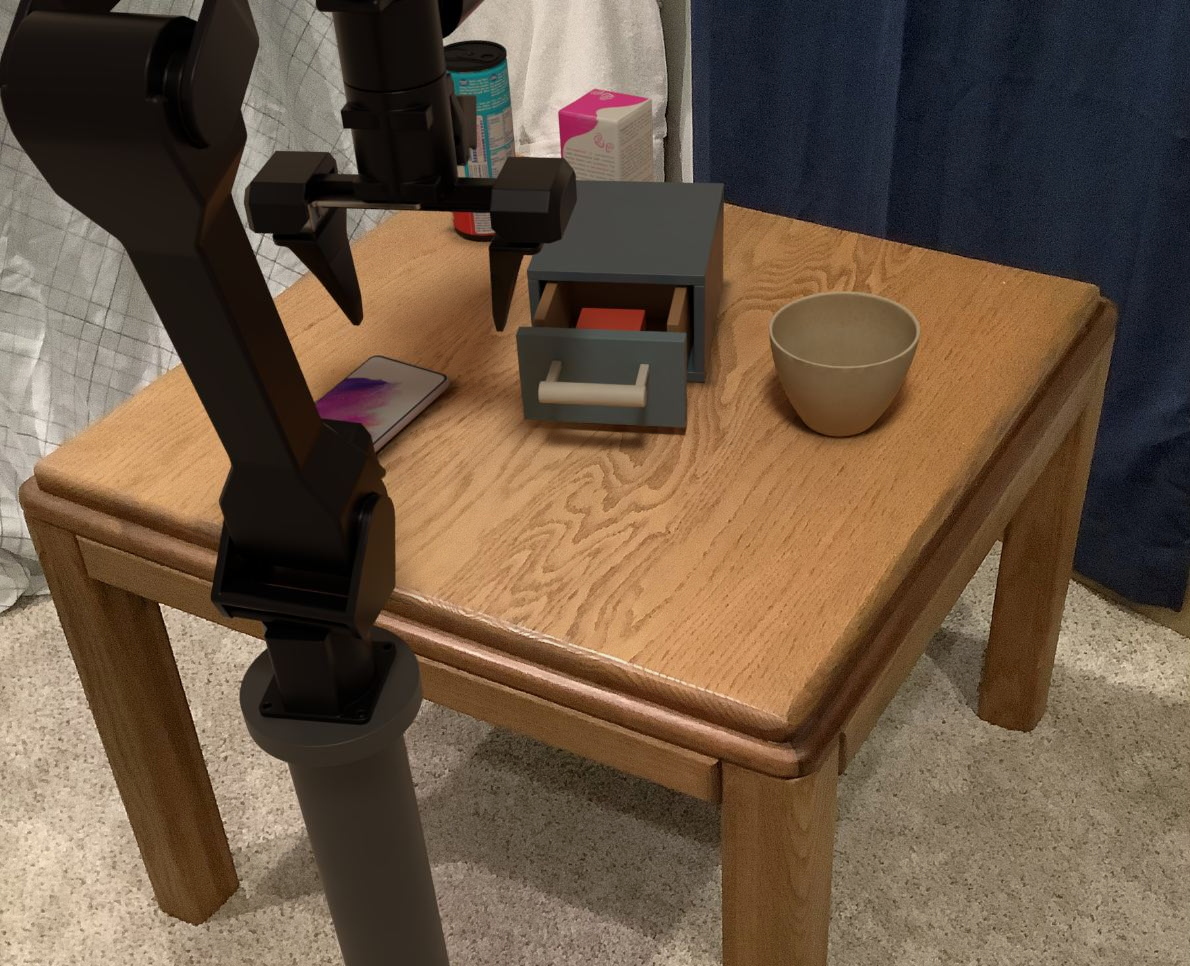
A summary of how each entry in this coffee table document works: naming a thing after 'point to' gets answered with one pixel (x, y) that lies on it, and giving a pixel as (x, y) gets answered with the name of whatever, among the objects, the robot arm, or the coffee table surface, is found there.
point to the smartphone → (382, 396)
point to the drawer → (607, 356)
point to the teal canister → (483, 119)
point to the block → (612, 319)
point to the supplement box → (608, 137)
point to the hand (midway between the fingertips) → (429, 325)
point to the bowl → (842, 357)
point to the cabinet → (643, 247)
